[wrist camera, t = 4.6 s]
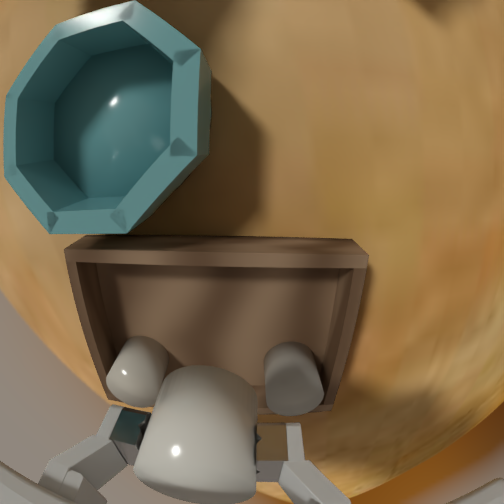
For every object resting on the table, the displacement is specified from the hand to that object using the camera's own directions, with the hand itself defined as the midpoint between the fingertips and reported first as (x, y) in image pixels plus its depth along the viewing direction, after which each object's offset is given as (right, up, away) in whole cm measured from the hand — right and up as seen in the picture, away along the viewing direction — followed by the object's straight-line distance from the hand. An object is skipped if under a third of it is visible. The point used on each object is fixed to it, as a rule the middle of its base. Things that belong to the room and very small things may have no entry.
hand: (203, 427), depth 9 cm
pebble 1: (-7, -2, +12) cm, 14 cm away
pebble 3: (+4, -2, +12) cm, 13 cm away
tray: (-1, +1, +11) cm, 11 cm away
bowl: (-7, +14, +7) cm, 17 cm away
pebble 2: (0, 0, +1) cm, 2 cm away
